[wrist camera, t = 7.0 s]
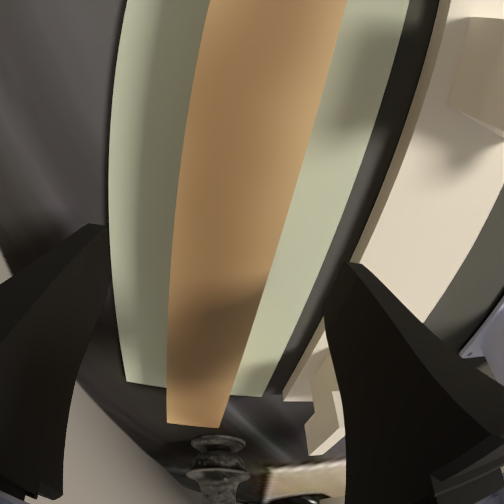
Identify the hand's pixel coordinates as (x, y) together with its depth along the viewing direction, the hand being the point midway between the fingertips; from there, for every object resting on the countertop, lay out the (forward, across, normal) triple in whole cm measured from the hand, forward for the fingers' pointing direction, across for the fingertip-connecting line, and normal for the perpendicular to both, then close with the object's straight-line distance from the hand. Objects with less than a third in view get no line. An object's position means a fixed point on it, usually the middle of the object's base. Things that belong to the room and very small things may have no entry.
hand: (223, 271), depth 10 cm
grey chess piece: (+4, -3, +24) cm, 25 cm away
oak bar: (+3, 0, 0) cm, 3 cm away
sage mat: (+4, 0, 0) cm, 4 cm away
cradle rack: (+4, -9, 0) cm, 10 cm away
